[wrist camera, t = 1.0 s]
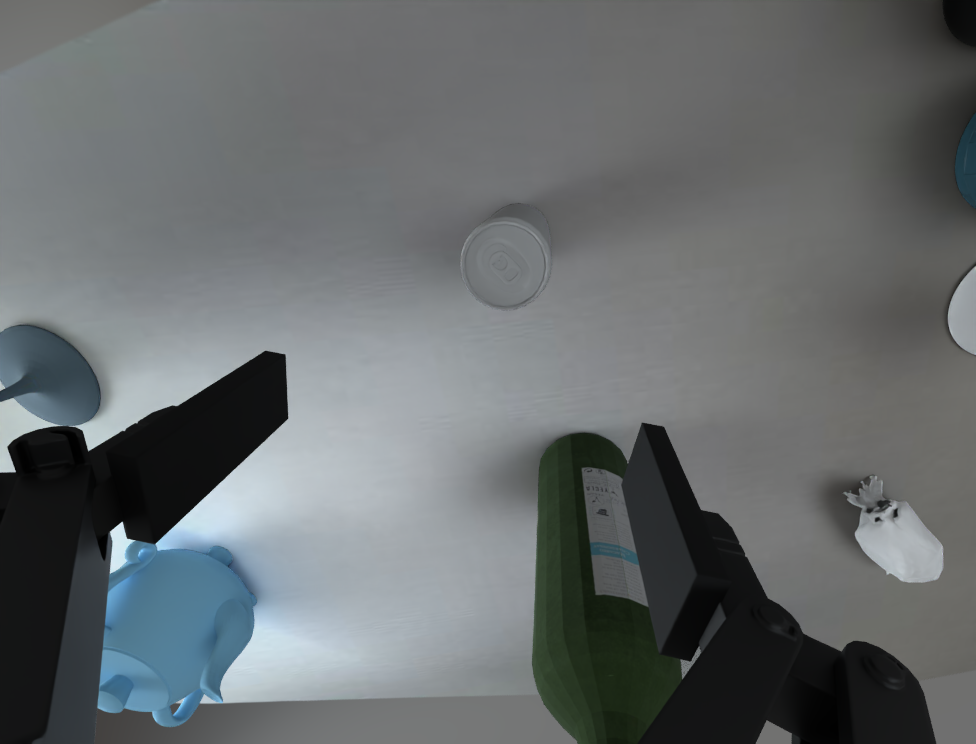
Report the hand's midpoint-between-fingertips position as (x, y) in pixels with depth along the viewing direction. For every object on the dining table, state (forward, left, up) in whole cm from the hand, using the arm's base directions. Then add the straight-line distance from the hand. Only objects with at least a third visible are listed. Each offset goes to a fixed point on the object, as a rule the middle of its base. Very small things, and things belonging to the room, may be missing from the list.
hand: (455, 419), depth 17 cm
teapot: (+49, -11, -21) cm, 55 cm away
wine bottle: (+10, +15, -21) cm, 28 cm away
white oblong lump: (-1, +39, -21) cm, 44 cm away
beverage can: (-4, -1, -21) cm, 21 cm away
